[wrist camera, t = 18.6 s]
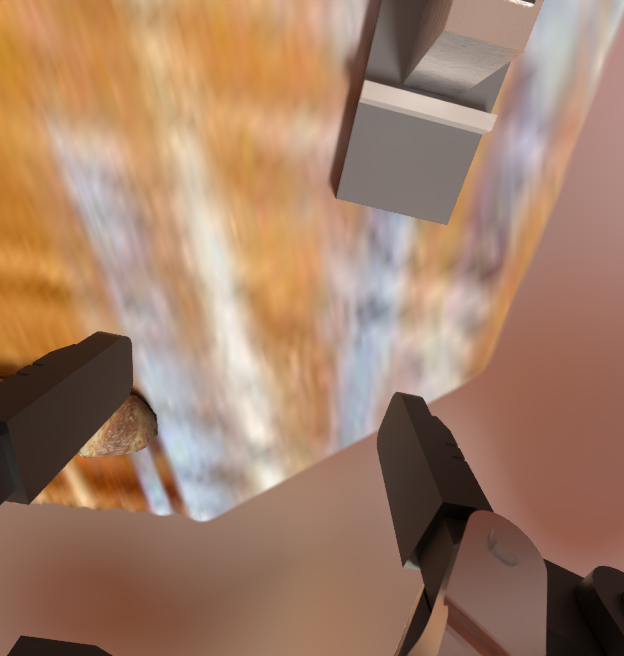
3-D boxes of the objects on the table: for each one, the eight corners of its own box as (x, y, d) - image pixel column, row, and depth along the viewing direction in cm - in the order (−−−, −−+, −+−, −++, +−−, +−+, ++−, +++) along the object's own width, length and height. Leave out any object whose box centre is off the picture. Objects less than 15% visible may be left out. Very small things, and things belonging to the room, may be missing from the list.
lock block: (402, 84, 27) (445, 28, 18) (423, 10, 25) (483, -97, 16) (455, 98, 27) (524, 51, 18) (480, 26, 25) (572, -69, 16)
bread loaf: (164, 349, 43) (120, 385, 34) (188, 446, 49) (157, 497, 40) (-57, 353, 46) (-149, 387, 37) (-7, 444, 52) (-75, 491, 43)
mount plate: (335, 198, 33) (337, 198, 29) (423, -180, 22) (441, -245, 19) (440, 223, 33) (453, 226, 30) (574, -131, 23) (616, -185, 19)
